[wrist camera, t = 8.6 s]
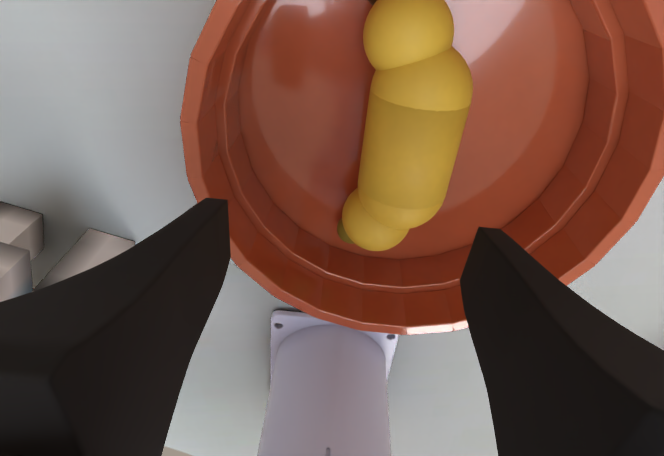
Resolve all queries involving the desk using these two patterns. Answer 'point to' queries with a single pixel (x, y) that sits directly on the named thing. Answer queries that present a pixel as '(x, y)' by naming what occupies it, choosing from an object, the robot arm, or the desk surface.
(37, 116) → the desk surface
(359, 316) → the bowl
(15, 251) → the toy llama
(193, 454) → the desk surface
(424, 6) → the banana
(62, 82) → the desk surface
